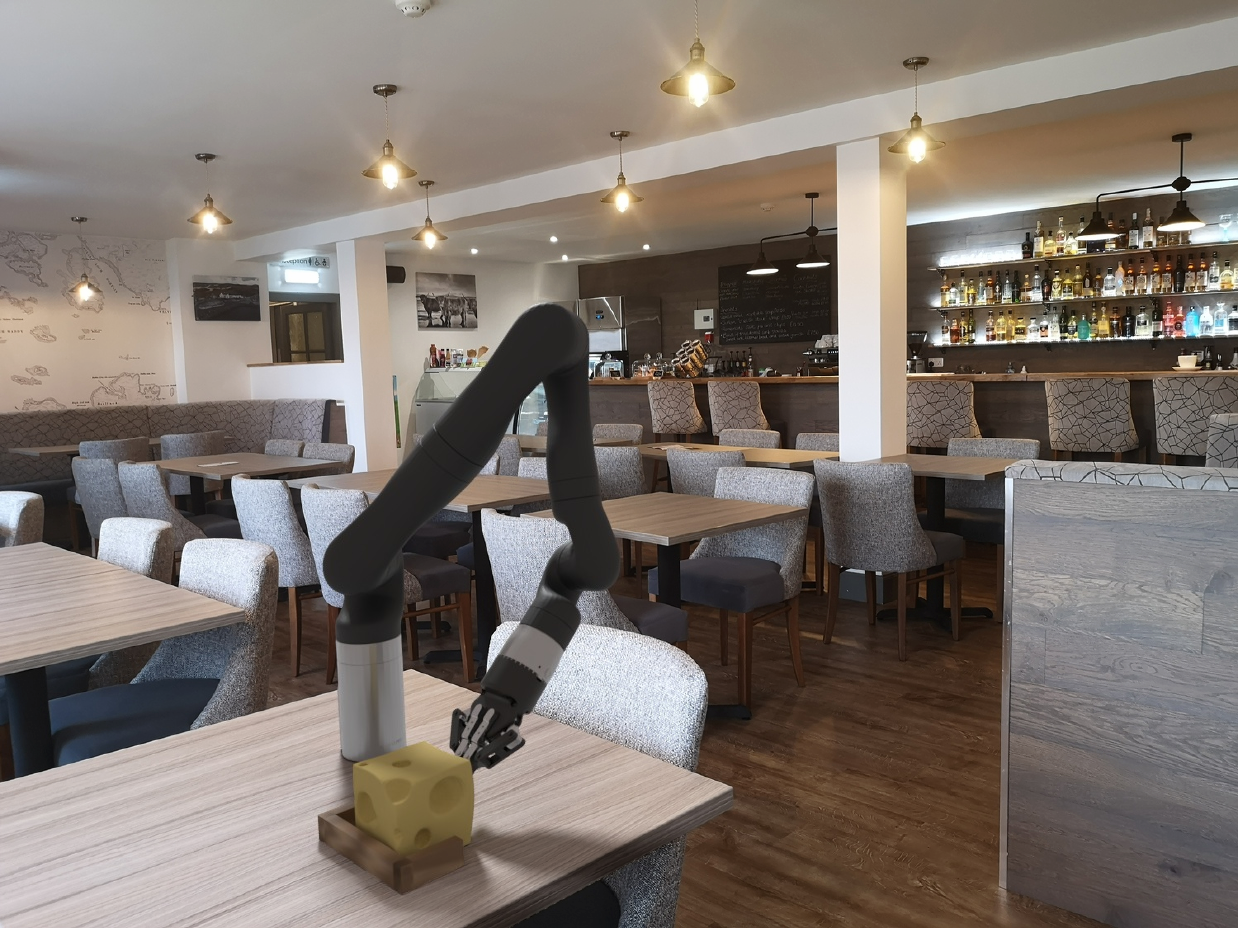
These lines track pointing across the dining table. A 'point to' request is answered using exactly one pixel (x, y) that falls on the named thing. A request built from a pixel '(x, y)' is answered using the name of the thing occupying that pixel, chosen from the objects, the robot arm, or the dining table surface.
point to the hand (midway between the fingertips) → (449, 791)
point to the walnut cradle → (387, 852)
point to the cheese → (414, 797)
